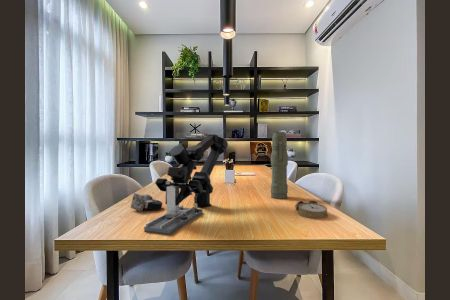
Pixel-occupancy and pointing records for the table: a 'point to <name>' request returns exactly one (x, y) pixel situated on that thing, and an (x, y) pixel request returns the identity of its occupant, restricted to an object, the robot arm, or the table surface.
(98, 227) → the table surface
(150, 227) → the rail
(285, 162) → the thermos
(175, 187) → the block
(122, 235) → the table surface
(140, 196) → the caster wheel
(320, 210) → the alarm clock
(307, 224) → the table surface
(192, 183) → the robot arm
